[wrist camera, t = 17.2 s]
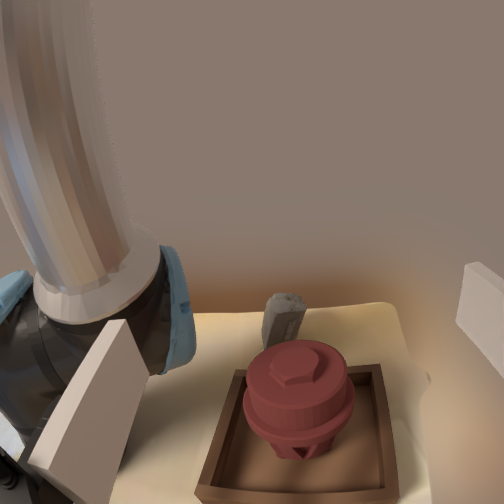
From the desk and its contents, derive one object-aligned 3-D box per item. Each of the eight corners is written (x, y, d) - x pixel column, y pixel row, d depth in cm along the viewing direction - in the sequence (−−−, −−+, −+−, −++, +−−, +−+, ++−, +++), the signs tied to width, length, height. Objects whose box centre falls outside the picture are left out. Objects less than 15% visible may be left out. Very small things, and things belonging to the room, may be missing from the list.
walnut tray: (205, 506, 22) (193, 493, 21) (240, 388, 38) (235, 369, 37) (390, 509, 18) (399, 496, 17) (377, 383, 34) (380, 363, 33)
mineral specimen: (270, 362, 41) (257, 312, 40) (258, 339, 50) (247, 295, 49) (318, 346, 42) (309, 296, 41) (300, 326, 51) (290, 282, 50)
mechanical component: (257, 484, 23) (255, 413, 32) (358, 468, 23) (338, 399, 32) (231, 416, 19) (235, 333, 28) (374, 392, 18) (340, 316, 28)
